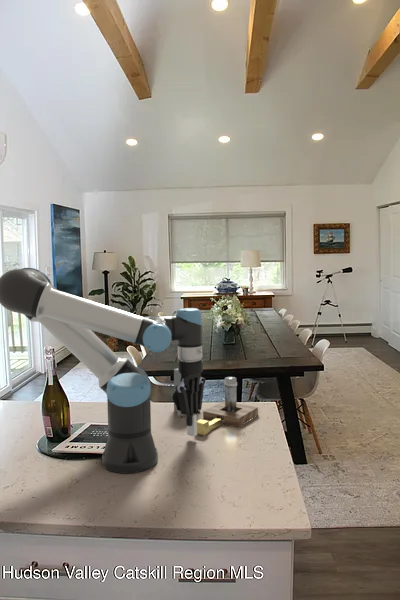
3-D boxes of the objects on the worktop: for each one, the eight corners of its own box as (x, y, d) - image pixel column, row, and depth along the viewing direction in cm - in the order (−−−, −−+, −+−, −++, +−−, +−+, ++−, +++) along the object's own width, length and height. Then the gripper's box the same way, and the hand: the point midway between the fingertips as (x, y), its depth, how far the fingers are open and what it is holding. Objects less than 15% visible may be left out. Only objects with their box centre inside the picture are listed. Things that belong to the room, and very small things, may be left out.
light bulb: (179, 413, 171) (179, 386, 170) (192, 416, 168) (192, 388, 167) (169, 417, 167) (168, 389, 166) (182, 421, 163) (182, 392, 162)
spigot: (233, 420, 163) (232, 380, 162) (221, 418, 166) (221, 378, 164) (239, 416, 167) (239, 377, 166) (228, 414, 170) (228, 376, 168)
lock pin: (203, 435, 149) (203, 423, 149) (195, 433, 151) (195, 421, 151) (223, 424, 159) (223, 413, 159) (215, 422, 161) (215, 411, 161)
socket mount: (238, 427, 157) (238, 418, 156) (203, 419, 164) (203, 411, 164) (258, 415, 168) (258, 407, 168) (224, 408, 176) (224, 400, 176)
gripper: (187, 365, 137) (189, 444, 139) (212, 356, 147) (213, 430, 149) (167, 362, 141) (169, 439, 143) (192, 354, 152) (194, 426, 154)
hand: (192, 434), depth 146 cm, fingers closed
